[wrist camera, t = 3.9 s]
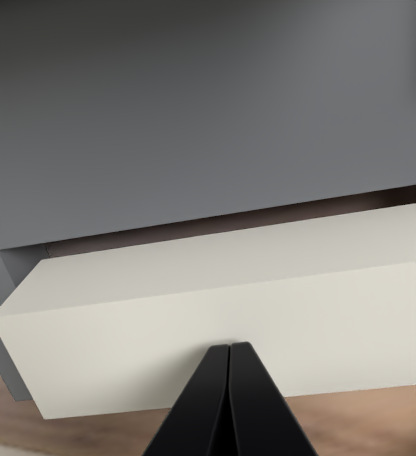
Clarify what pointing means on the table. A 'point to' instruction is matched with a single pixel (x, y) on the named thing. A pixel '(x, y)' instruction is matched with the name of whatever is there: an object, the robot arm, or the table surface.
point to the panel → (192, 114)
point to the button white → (220, 313)
